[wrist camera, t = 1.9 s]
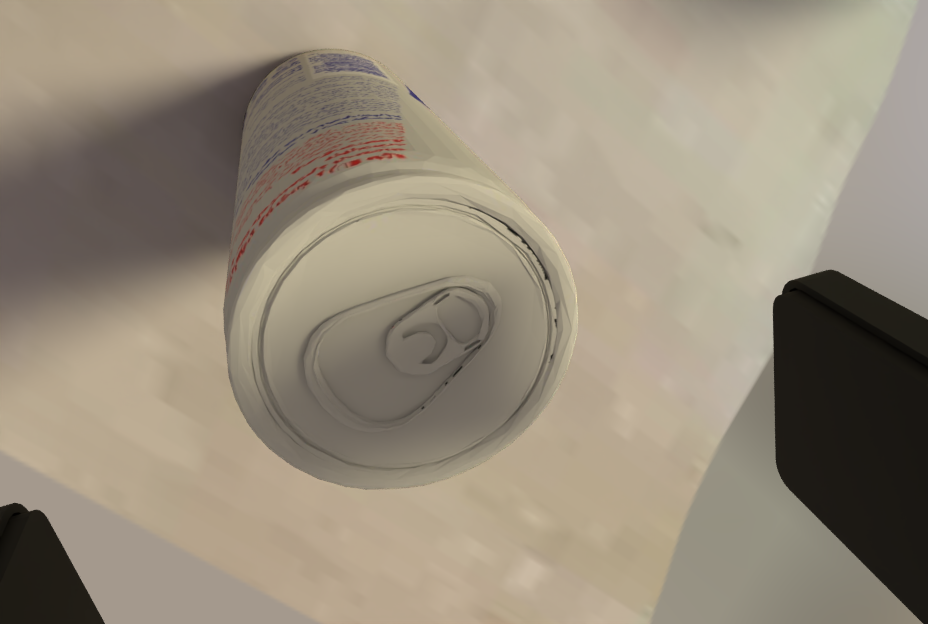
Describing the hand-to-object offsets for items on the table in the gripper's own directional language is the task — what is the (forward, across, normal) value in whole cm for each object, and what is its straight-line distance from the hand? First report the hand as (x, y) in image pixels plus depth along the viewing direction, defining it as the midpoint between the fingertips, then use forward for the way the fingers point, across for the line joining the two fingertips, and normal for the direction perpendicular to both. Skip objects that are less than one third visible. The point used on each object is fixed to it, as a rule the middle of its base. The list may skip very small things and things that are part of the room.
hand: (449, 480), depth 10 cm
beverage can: (+18, 0, -1) cm, 18 cm away
